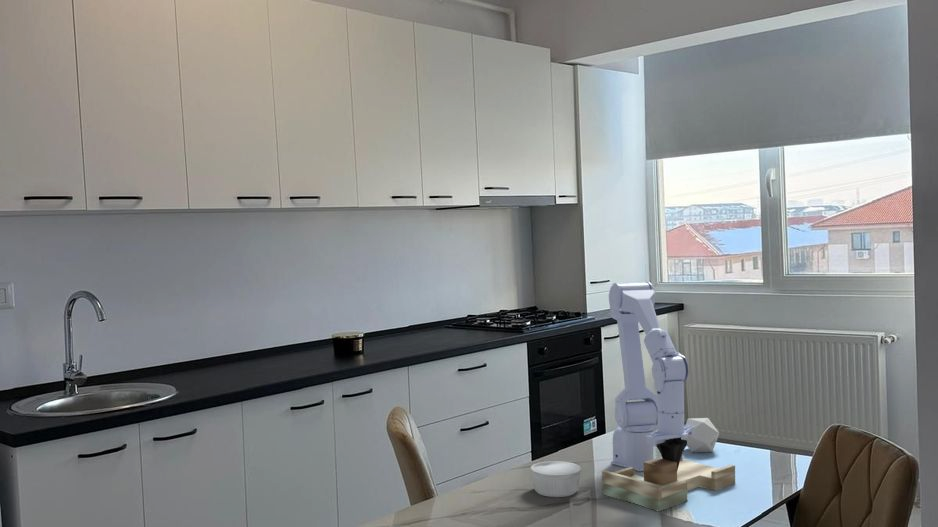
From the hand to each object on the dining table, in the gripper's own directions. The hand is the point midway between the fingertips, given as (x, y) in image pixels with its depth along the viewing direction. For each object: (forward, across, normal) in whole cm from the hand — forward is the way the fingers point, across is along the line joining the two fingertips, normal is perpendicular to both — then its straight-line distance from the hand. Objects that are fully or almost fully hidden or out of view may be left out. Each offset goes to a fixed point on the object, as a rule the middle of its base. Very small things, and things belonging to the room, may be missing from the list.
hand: (671, 472), depth 180 cm
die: (+4, +30, +14) cm, 34 cm away
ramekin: (+4, -20, +16) cm, 26 cm away
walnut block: (+1, -4, 0) cm, 4 cm away
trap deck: (+3, -1, 0) cm, 3 cm away
